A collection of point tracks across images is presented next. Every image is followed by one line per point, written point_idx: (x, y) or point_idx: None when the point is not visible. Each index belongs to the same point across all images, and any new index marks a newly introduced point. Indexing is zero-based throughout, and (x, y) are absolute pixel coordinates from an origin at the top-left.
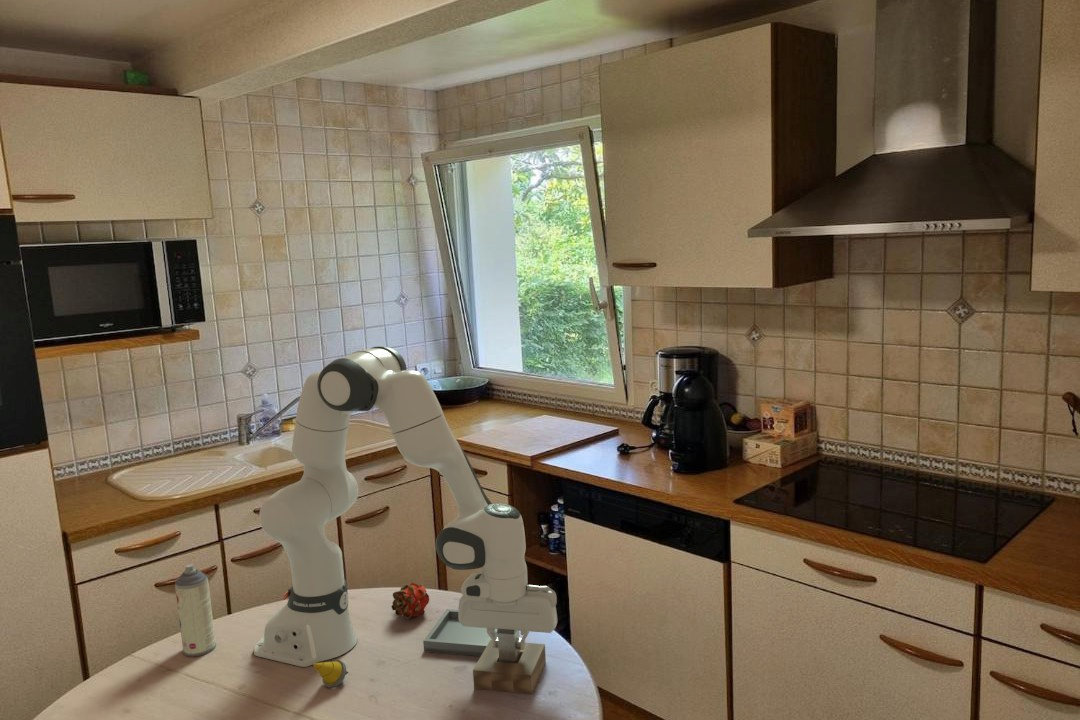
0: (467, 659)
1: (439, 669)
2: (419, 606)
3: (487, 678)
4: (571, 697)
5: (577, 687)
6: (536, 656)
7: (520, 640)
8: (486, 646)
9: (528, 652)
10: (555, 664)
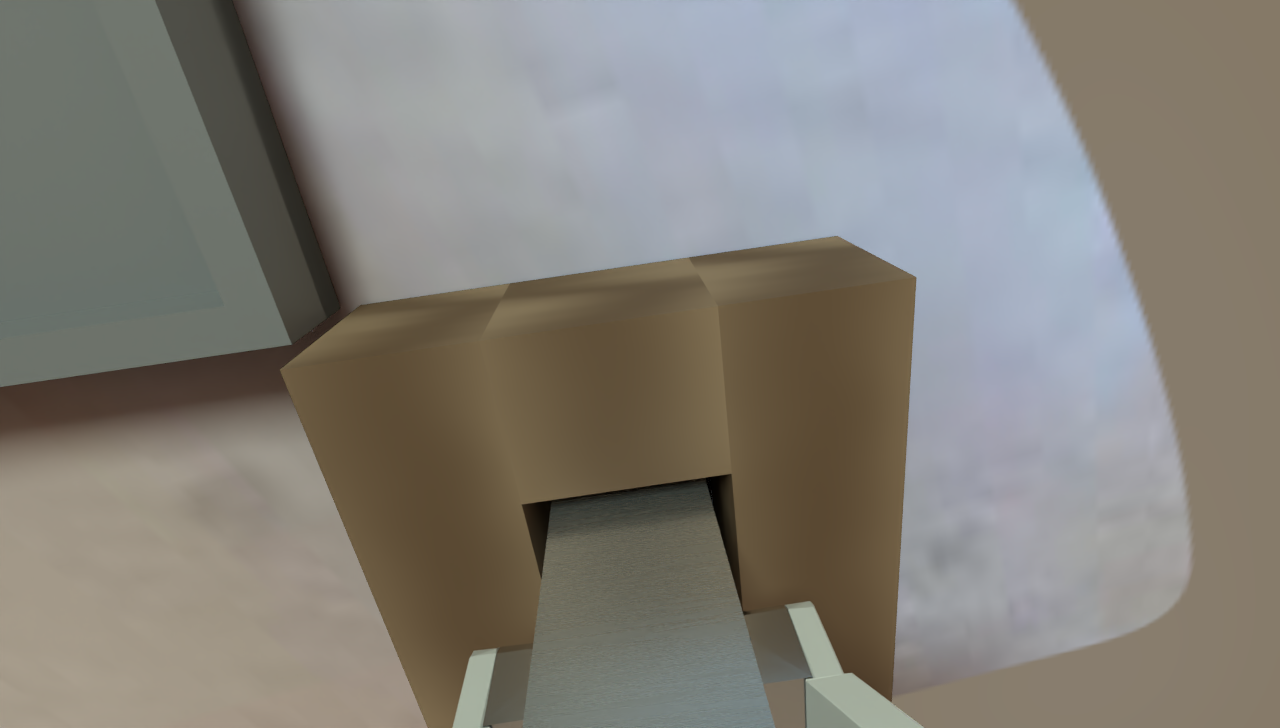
0: (195, 391)
1: (108, 558)
2: None
3: None
4: (1071, 556)
5: (1106, 463)
6: (876, 500)
7: (803, 720)
8: (271, 346)
9: (783, 465)
10: (923, 247)
